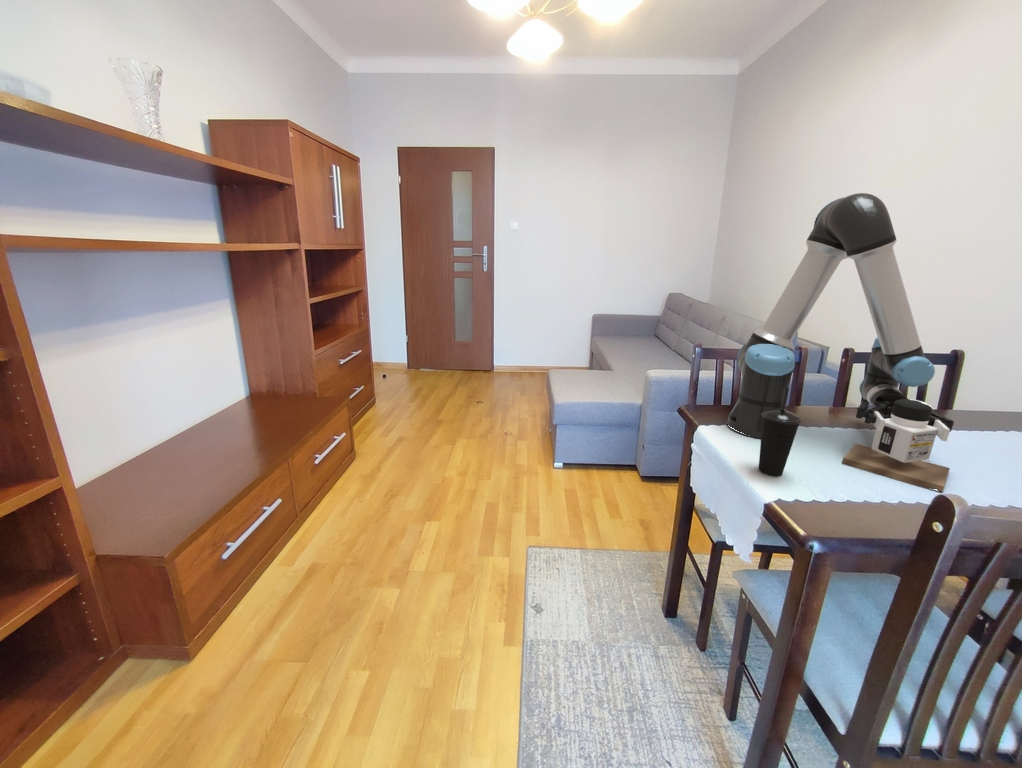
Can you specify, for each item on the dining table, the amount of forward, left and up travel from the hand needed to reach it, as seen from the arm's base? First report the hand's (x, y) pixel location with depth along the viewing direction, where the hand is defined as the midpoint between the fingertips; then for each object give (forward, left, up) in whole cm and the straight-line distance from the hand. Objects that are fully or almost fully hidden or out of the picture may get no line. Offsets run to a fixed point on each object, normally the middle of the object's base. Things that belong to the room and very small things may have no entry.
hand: (913, 430), depth 101 cm
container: (-1, +4, -8) cm, 9 cm away
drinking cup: (-21, -21, -11) cm, 31 cm away
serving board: (-2, +4, -11) cm, 12 cm away
